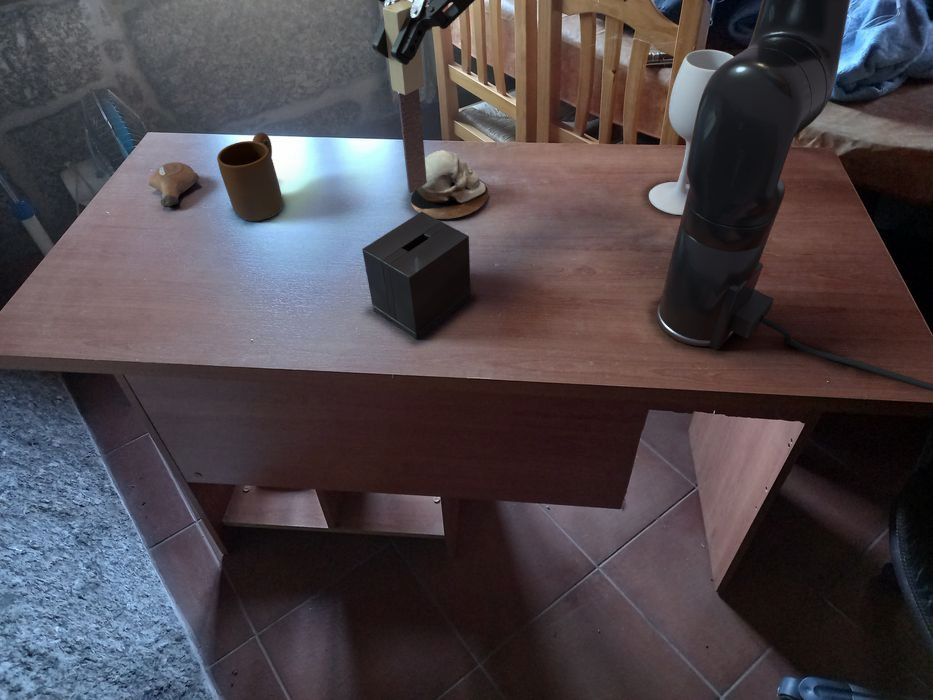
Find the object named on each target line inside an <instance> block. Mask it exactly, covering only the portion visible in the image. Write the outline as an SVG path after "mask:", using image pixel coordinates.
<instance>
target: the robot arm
mask: <svg viewBox="0 0 933 700" xmlns="http://www.w3.org/2000/svg"><path fill="white" fill-rule="evenodd" d="M399 1H401V0H378V2H379V3H380V4H382V6H383V8H384V7H387V6H389V5H392V4H394V3H397V2H399ZM406 1H409V2H412V3H413V5H412V7H411V10H410V16H411V18H407V17H406V19H405V21H404V23H403V26H402V28H401V30H400V32H399V34H398V36H397V38H396V40H395V42H394V45H393V47H392V49H391V56H392V57H393V58H394V59H396V60H397V61H398V62H399V63H402V64H404V65H407V64H408V63H409V62H410V60H412V59H413V58H414V56H415V55H416V53H417V50H418V48H419V46H420V44H421V45H422V42H423V40H424V37H425V35H426V33H427V32H429V31H431V30H432V29H433V28H436V27H439V28H440V29H441V30H446V29H447V28H448V27H450V25H451V24H453V23H454V22H455V21H456V20H457V18H459V17H460V16H461V15H462V14H463V13H464V12H465V11H466V10H467V9H468V8H469V7H470V6H471V5H472V4H474V2H475V1H476V0H406ZM850 2H851V0H761V4H760V8H759V12H758V15H757V19H756V23H755V26H754V30H753V33H752V36H751V39H750V42H749V45H748V46H747V47H746V48H745V49H744V50H742V51H741V52H739V53H738V54H736V55H735V56H734V57H733V58H732V59H730V60H728V61H727V62H725V63H724V64H723V65H721V66H720V67H719V68H718V69H717V70H716V71H715V72H714V73H713V75H712V76H711V77H710V79H709V81H708V83H707V84H706V87H705V89H704V91H703V94H702V97H701V100H700V103H699V107H698V111H697V116H696V120H695V125H694V131H693V136H692V141H691V146H690V151H689V156H688V163H687V181H688V182H687V183H688V184H689V189H688V193H687V197H686V201H685V205H684V209H683V213H682V215H681V218H680V221H679V226H678V230H677V234H676V237H675V242H674V245H673V250H672V253H671V258H670V261H669V266H668V270H667V273H666V278H665V280H664V281H665V282H664V285H663V290H662V294H661V296H660V300H659V303H658V306H657V309H656V310H657V311H656V319H657V322H658V324H659V326H660V327H661V329H662V330H663V331H664V332H665V333H666V334H667V335H668V336H670V337H671V338H672V339H674V340H676V341H678V342H681V343H683V344H686V345H690V346H695V347H709V348H712V349H714V350H720V349H721V347H723V345H724V344H725V343H726V342H727V341H728V340H729V339H730V338H731V337H732V336H733V334H734V333H735V334H737V335H738V336H740V337H743V338H745V339H748V338H749V337H750V336H751V335H752V333H753V332H755V330H756V329H757V328H758V327H759V325H760V324H761V323H762V324H763V325H765V326H767V327H768V328H770V329H772V330H774V331H776V332H777V333H779V334H780V335H781V336H783V341H784V342H785V343H786V344H787V345H788V346H790V347H791V348H794V349H797V350H799V351H801V352H802V351H803V352H805V353H809V354H810V355H811V354H812V355H814V356H817V357H820V358H823V359H825V360H829V361H832V362H836V363H839V364H844V365H847V366H850V367H853V368H856V369H860V370H863V371H866V372H869V373H873V374H876V375H879V376H881V377H885V378H888V379H891V380H895V381H897V382H901V383H904V384H908V385H911V386H914V387H916V388H921V389H925V390H928V391H931V392H933V383H931V382H927V381H924V380H921V379H916V378H914V377H911V376H907V375H903V374H901V373H897V372H894V371H891V370H887V369H884V368H881V367H878V366H875V365H871V364H869V363H866V362H862V361H859V360H857V359H852V358H849V357H845V356H841V355H837V354H833V353H830V352H825V351H822V350H819V349H815V348H812V347H809V346H806V345H804V344H802V343H800V342H798V341H796V340H794V339H793V338H792V334H791V333H790V332H789V330H787V329H786V328H784V327H783V326H782V325H780V324H778V323H776V322H775V321H773V320H771V319H769V318H767V316H768V315H769V313H770V310H771V309H772V305H773V303H774V301H775V298H774V297H772V296H769V295H767V294H765V293H763V292H760V291H759V290H756V286H757V284H758V281H759V278H760V275H761V273H762V270H763V268H764V263H763V262H761V258H762V255H763V253H764V250H765V248H766V245H767V242H768V239H769V236H770V234H771V231H772V230H773V226H774V223H775V221H776V218H777V216H778V213H779V211H780V208H781V206H782V203H783V200H784V197H785V192H786V187H785V183H784V180H783V179H782V177H781V175H782V172H783V169H784V166H785V163H786V159H787V157H788V154H789V151H790V149H791V145H792V143H793V141H794V139H795V137H796V136H798V135H799V134H800V133H801V132H802V131H804V130H805V129H806V128H807V127H808V126H810V125H811V124H812V123H813V122H814V121H815V120H816V119H817V118H818V117H819V116H820V115H821V114H822V113H823V111H824V109H825V108H826V106H827V104H828V103H829V101H830V99H831V96H832V94H833V91H834V87H835V84H836V80H837V75H838V70H839V65H840V60H841V54H842V47H843V40H844V35H845V30H846V25H847V20H848V14H849V8H850V4H851V3H850ZM450 4H451V5H450ZM449 5H450V6H449ZM448 6H449V7H448ZM447 7H448V8H447ZM445 8H446V10H445ZM381 17H382V18H381V19H380V21H379V23H378V26H377V28H376V30H375V32H374V35H373V37H372V49H373V50H374V51H375V52H376V53H377V54H378V55H380V56H381V57H382V58H383V57H384V58H385V59H389V58H388V49H387V40H386V32H385V23H384V15H383V14H382V16H381Z"/></svg>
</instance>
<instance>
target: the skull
mask: <svg viewBox="0 0 933 700" xmlns="http://www.w3.org/2000/svg"><path fill="white" fill-rule="evenodd" d="M425 166H426V178H427V183H426V184H425V185H423V186H421V187H420V188H418V189H416V190H415V191H413V192H412V193H411V197H410V204H411V206H412V208H413V209H414V210H415V211H416V212H417V213H420V212H424V213H426V214H428V215H430V216H432V217H433V218H435V219H437V220H440V219H441V220H449V219H455V218H460V217H464V216H468V215H470V214H472V213H473V212H476V211H478V209H480V208H481V207H483V206H484V204H485V203H486V202H487V200H488V196H489V189H488V187H487V185H486V183H485V182H484V181H482V180H481V179H480V175H479V174H478V172H477V171H475V170H474V169H473V168H472V167H470V166H468V163H467V162H466V161H460V157H459V155H458V153H455V152H453V151H449V150H446V149H445V150H444V149H441V150H436V151H433V152H431V153H429V154H428V155H426V156H425Z"/></svg>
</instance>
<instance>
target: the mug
mask: <svg viewBox="0 0 933 700" xmlns="http://www.w3.org/2000/svg"><path fill="white" fill-rule="evenodd" d="M272 157H273V146H272V141H271V139H270V137H269V135H268V134H266V133H265V132H263V131H261V132H258V133H256V134H255V135H254V137H253V139H252V140H245V141H238V142H235V143H232V144H229V145H227V146H225V147H224V148H222V149H221V150H220V151H219V152H218V153H217V157H216V161H217V163H218V169H219V172H220V175H221V178H222V181H223V185H224V187H225V190H226V192H227V196H228V199H229V201H230V204H231V207H232V210H233V212H234V213H235V215H236V216H237V217H238V218H240V219H242V220H244V221H250V222H259V221H264V220H268V219H270V218H272V217H274V216H276V215H277V214H278V213H279V212H280V211H281V210H282V208H283V205H284V198H283V194H282V190H281V186H280V183H279V180H278V175H277V172H276V168H275V165H274V161H273V158H272Z"/></svg>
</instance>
